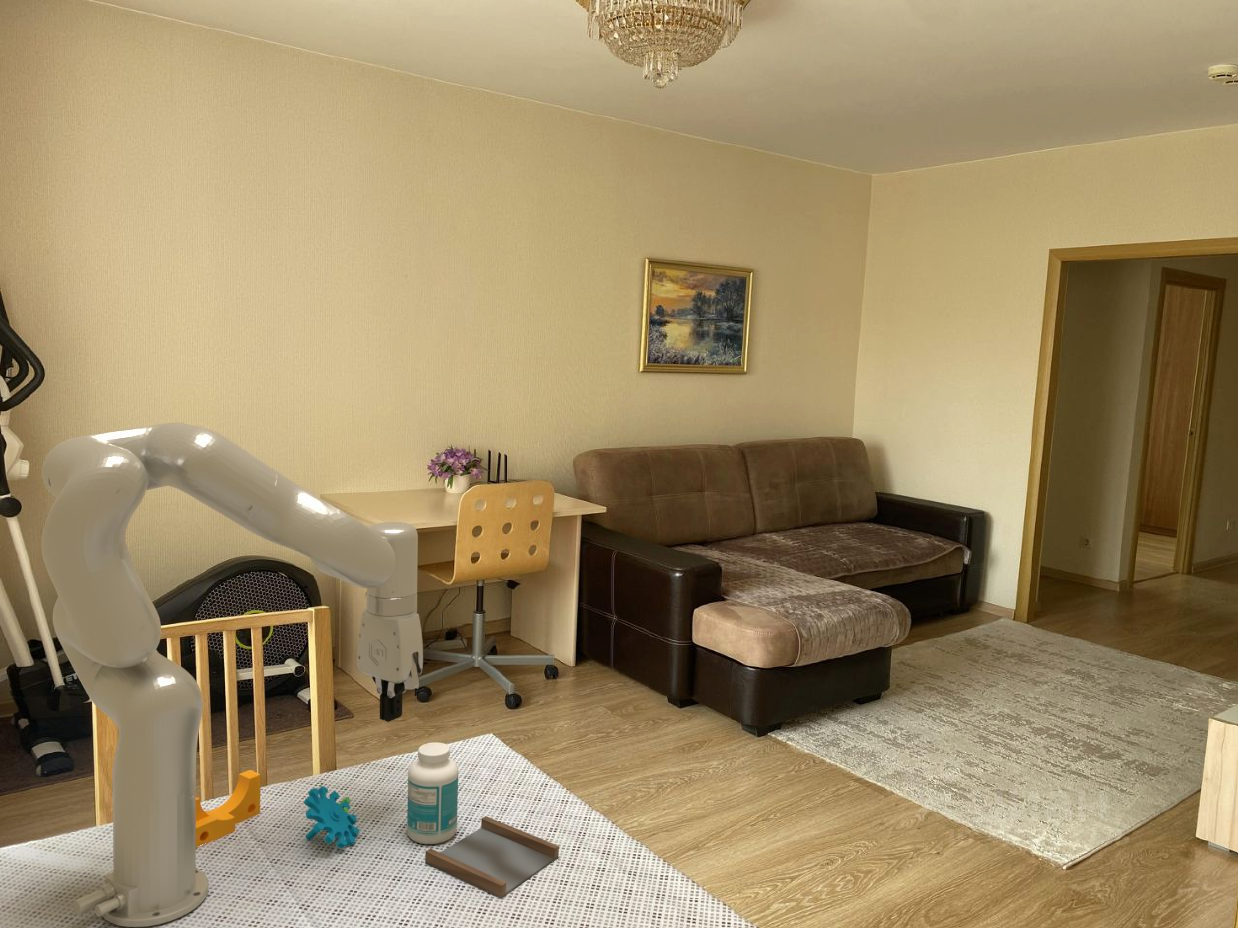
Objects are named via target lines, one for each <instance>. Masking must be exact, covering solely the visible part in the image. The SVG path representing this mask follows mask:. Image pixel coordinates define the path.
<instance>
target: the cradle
mask: <svg viewBox="0 0 1238 928" xmlns="http://www.w3.org/2000/svg"><path fill="white" fill-rule="evenodd" d="M559 855H560V845H558V844H555V843H553V842H551V841H548V840H545V839H544V838H541V837H538V836H536V835H533V834H530V833H528V832H525V831H523V830H521V829H518V828H516V827H514V826H511V825H509V824H506V823H503V822H501V821H498V820H497V819H493V818H491V817H489V816H487V815H485V816H483V817H481V820H480V828H479V829H476V830H475V831H474V832H472V833H470V834H468V835H466V836H464V838H462V839H460V840H458V841H457V842H454V843H453V844H452V845H450V846H448V847H446V848H445V849H443V850H442V851H440V852H439V851H437V850H435V849H433V848H428V850H425V857H424V863H425V865H428V866H430V867H433V868H435V869H437V870H439V871H441V872H444V873H445V874H448V875H450V876H451V877H454V878H456V879H457V880H460V881H462V882H465V883H467V884H469V885H471V886H473V887H475V888H478V889H480V890H483V891H484V892H486V893H488V894H491V895H492V896H495V897H497V898H499V899H503V898H504V897H505V896H506V895H508V894H509V893H511V892H512V891H514V890H515V889H517V888H518V887H519V886H521V885H522V884H524V883H525V882H527V881H528V880H529V879H530V878H532V877H533V876H535V875H536V874H538V873H539V872H540V871H542V870H543V869H546V867H548V866H549V865H550V864H551V863H553V862H554V861H556V860H557V859H558V858H559V857H560V856H559ZM555 859H556V860H555ZM552 861H553V862H552Z"/></svg>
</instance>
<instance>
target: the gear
mask: <svg viewBox="0 0 1238 928" xmlns="http://www.w3.org/2000/svg"><path fill="white" fill-rule="evenodd" d="M307 793H308V794H307V795H308V797H306V798H305V799H304V800H303V804H304V806H306V807H308V809H307V810H306V811H305V817H306V819H308V820H314V821H315V823H314V824H313V825H312V829H311V830H310V831H308V832H307V833H306V834H305V836H304V837H305V839H306V840H307V841H312V839H313V838H314V837H316V836H317V835H318V834H319V833H320V832H322V831H326V832H327V834H326V835H325V836H324V837H323V841H325V843H327V844H328V845H331V844H332V843H334V841H336V837H337V841H336V842H335V845H336V847H338V848H339V849H342V850H343V849H344V848H345V847H347V846H349V847H350V846H353V845H354V844H355V843H356V842H357V840H356V838H355V837H356V836H358V835H359V833H360V829H359V828H358V827H356V826H355V824H356V823H357V822H358V818H357V815H356V814H354V813H353V814H350V813H349V812H350V809H351V806H350V803H351V799H350V797H348V796H346V797H344V799H343V800H341V801H340V802H339V803H338V802H336V801H337V800H339V798H340V794H339V793H338V792H337V791H336V790H333V791H332V792H331V793H329V790H328V787H325V786H324V785H321V786H320V787H319V788H316V787H315V788H311V789H310V790H309V791H308V792H307ZM328 793H329V795H328V796H329V797H327V794H328ZM316 821H317V822H316Z"/></svg>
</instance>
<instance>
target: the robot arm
mask: <svg viewBox="0 0 1238 928" xmlns="http://www.w3.org/2000/svg"><path fill="white" fill-rule="evenodd" d="M41 478H42V480H43V484H44V487H45V488H46V490H47V491H48V492H49V494H51V496H53V497H54V498H55V500H54V502H53V503H52V505H51V508H50V509H49V512H48V515H47V516H46V520H45V523H44V526H43V529H42V530H43V531H42V533H41V543H40V544H41V545H40V546H41V547H40V548H41V555H42V560H43V562H44V566H45V569H46V571H47V572H46V573H47V574H48V576H49V579H50V580H51V583H52V585H53V587H54V589H55V592H56V594H57V599H56V601H55V603H54V606H53V611H52V623H53V628H54V633H55V635H56V637H57V639H58V641H59V643H60V645H61V647H62V649H63V651H64V653H65V655H66V657H67V659H68V661H69V662H70V664H71V666H72V668H73V670H74V672H75V674H76V675H77V677H78V679H79V681H80V682H81V685H82V686H83V688H84V690H85V692H86V694H87V695H88V697H89V699H90V701H92V703H93V704H94V705H95V707H96V708H98V709H99V711H101V713H103V714H105V716H107V718H109V720H111V721H112V722H113V723H114V724H116V726H117V731H118V739H117V743H116V748H115V752H114V758H113V763H112V834H113V838H112V839H113V840H112V843H113V844H112V847H113V848H112V850H113V852H112V853H113V854H112V855H113V862H112V863H113V867H112V870H113V871H112V872H110V873H108V874H105V876H104V884H103V885H101V886H99V887H98V888H97V890H96V891H94V892H91V893H89V894H87V895H84V896H81V897H80V898H78V899H74V900H73V902H72V910H73V913H74V915H75V916H77V917H80V916H82V915H84V914H87V913H88V912H91V911H93V910H94V913H95V915H96V916H97V917H99V918H100V917H102V918H103V919H104V921H107V922H109V923H111V924H113V925H116V926H120V927H125V928H143V927H146V928H147V927H151V926H158V925H161V924H162V925H163V924H165V923H169V922H172V921H174V920H177V919H180V918H181V917H184V916H185V915H188V914H189V913H190V912H192V911H194V910H195V909H196V908H197V907H198V906H200V905H201V904H202V903H203V901H204V900H205V899H206V897H207V895H208V893H209V879H208V877H207V875H206V873H204V872H203V871H202V870H200V869H198V868H197V867H196V866H197V865H196V862H197V861H196V856H197V855H196V853H197V852H196V850H197V848H196V797H197V749H198V748H197V747H198V738H199V731H200V727H201V723H202V722H201V721H202V716H203V710H204V709H203V708H204V701H203V699H204V698H203V695H202V691H201V687H200V686H199V683H198V682H197V681H196V679H195V678H194V676H193V675H191V674H190V673H189V671H187V670H186V669H185V668H184V667H182V666H180V665H179V664H177V663H176V662H174V661H172V659H169V658H168V657H165V656H164V655H163V654H161V653H159V651H158V650H157V648H158V646H159V644H160V641H161V637H162V625H161V619H160V616H159V613H158V611H157V609H156V607H155V604H154V603H153V601H152V599H151V598H150V595H149V594H148V592H147V590H146V587H145V586H144V583H143V582H142V579H141V578H140V576H139V573H138V571H137V569H136V567H135V564H134V562H133V560H132V557H131V554H130V552H129V549H128V546H127V540H126V538H127V537H126V535H127V534H126V532H127V529H128V525H129V524H130V521H131V519H132V516H133V515H134V513H135V512H136V510H137V509H138V507H140V504H141V503H142V501H143V499H144V497H145V495H146V493H147V491H150V490H154V489H158V488H162V487H171V488H174V489H178V490H179V491H182V492H183V493H185V494H187V495H189V496H191V497H192V498H194V499H195V500H197V501H199V502H200V503H202V504H204V505H206V506H207V507H208V508H211V509H212V510H214V511H216V512H218V513H219V514H221V515H222V516H224V517H226V518H227V519H229V520H231V521H232V522H234V523H236V524H237V525H239V526H240V527H242V528H244V529H246V530H247V531H248V532H251V533H253V534H254V535H256V536H259V537H261V538H262V539H264V540H266V541H269V542H271V543H273V544H277V545H279V546H282V547H285V548H288V549H290V550H293V551H295V552H298V553H300V554H303V555H305V556H306V557H308V558H310V561H311V563H312V565H313V566H314V567H315V568H316V569H317V570H318V571H320V573H322V574H325V575H327V576H329V577H333V578H335V579H337V580H341V581H343V582H346V583H348V584H350V585H354V586H356V587H359V588H362V589H363V588H364V589H366V591H365V594H364V597H365V598H366V608H364V609H363V611H362V614H361V619H360V622H359V623H360V624H359V630H358V639H357V653H356V655H357V661H356V662H357V663H356V664H357V669H358V670H359V671H360V672H361V673H363V674H364V675H366V676H367V677H368V678H370V679H372V681H373V682H374V684H375V689H376V690H375V691H376V693H377V694H378V695H379V719H380V720H381V721H385V722H387V723H390V722H392V721H394V720H396V719H399V718H401V717H402V716H403V694H404V693H406V691H407V690H414V689H417V688H420V682H419V676H421V675H422V673H423V665H424V647H423V644H424V643H423V635H422V634H423V633H422V626H421V620H420V615H419V613H417V612H418V557H419V556H418V555H419V554H418V553H419V551H418V550H419V548H418V546H419V543H418V542H419V538H418V537H419V535H418V531H417V528H416V527H415V526H414V525H412V524H411V523H407V522H403V521H383V522H378V523H375V524H372V525H366V524H364V523H363V522H362V521H359V520H357V519H356V518H355V517H353V516H351V515H349V514H348V513H347V512H345V511H343V510H342V509H339V508H338V507H336V506H334V505H332V504H331V503H329V502H327V501H325V500H323V499H322V498H320V497H319V496H317V495H316V494H314V493H313V492H312V491H310V490H308V489H306V488H305V487H302V486H301V485H299V484H298V483H296V482H294V481H292V480H291V479H289V478H288V477H286V476H285V475H283V473H280V472H278V471H277V470H275V469H274V468H272V467H270V466H269V465H268V464H266V463H265V462H263V461H261V460H260V459H259V458H258V457H256V456H255V455H253V454H251V453H250V452H248V451H247V450H246V449H244V448H243V447H241V446H239V445H238V444H237V443H235V442H234V441H232V440H230V439H229V438H227V437H226V436H224V435H223V434H220V433H219V432H217V431H215V430H213V429H210V428H207V427H204V426H203V427H202V426H199V425H193V424H188V423H184V422H183V423H182V422H168V423H167V422H166V423H160V424H154V425H153V424H152V425H147V426H141V427H135V428H127V429H121V430H114V431H107V432H99V433H94V434H93V433H92V434H86V435H81V436H80V435H79V436H76V437H72V438H69V439H66V440H63V441H61V442H59V443H58V444H57V445H55V446H53V447H52V448H51V450H49V451H48V453H47V455H46V456H45V458H44V460H43V463H42V466H41Z"/></svg>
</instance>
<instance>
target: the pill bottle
mask: <svg viewBox="0 0 1238 928" xmlns="http://www.w3.org/2000/svg"><path fill="white" fill-rule="evenodd" d="M450 749H451V748H450V746H449V745H448V744H447V743H443V742H428V743H424V744H422V745H421V746H419V747H418V750H417V758H418V759H416V760H414V761H413V762H412V763H411V764H410V766H409V768H408V770H407V771H408V773H407V774H408V775H407V810H406V811H407V812H406V813H407V814H406V815H407V816H406V817H407V818H406V819H407V821H406V824H407V825H406V831H407V835H408V837H409V838H410V839H411V840H412V841H414V842H416V843H418V844H422V845H437V844H442V843H444V842H446V841H449V840H450V839H452V838H453V837H454V835H456V833H457V830H458V829H457V828H458V801H459V800H458V799H459V798H458V797H459V766H458V764H457V762H455V760H453V759H452V758H450V757H451V750H450Z"/></svg>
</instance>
